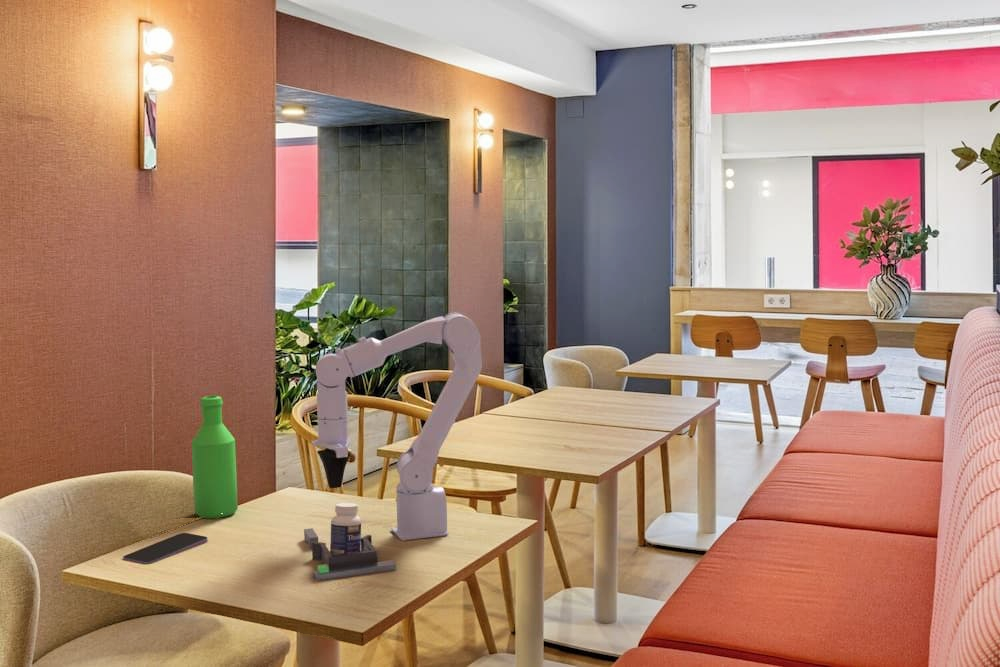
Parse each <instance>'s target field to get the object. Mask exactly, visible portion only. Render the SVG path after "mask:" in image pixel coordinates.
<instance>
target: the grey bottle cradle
mask: <svg viewBox="0 0 1000 667" xmlns="http://www.w3.org/2000/svg"><path fill="white" fill-rule="evenodd" d="M372 542H373V541H372V534H371V535H370V534H367V535H364V536H363V537H361V546H360V552H354V553H347V554H339V555H332V554H331V553H330V549H329V548H328V547H327V543H326V542H322V541H321V542H320V541H318V542H313V543H312V548H311V554H312V555H311V558H312V560H319V561H320V562H321V564H318V565H317V570H313V571H312V573H313V574H312V575H313V579H314V580H315V582H319V581H326V580H334V579H341V578H348V577H354V576H361V575H367V574H376V573H382V572H383V573H384V572H390V571H396V570H397V563H396V562H395V561H394V560H392V559H390V560H384V561H378V549H376V547H374V545H373V543H372Z"/></svg>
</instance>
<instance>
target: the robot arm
mask: <svg viewBox="0 0 1000 667" xmlns="http://www.w3.org/2000/svg"><path fill="white" fill-rule="evenodd" d="M481 340H482V338H481V334H480V333H479V330H478V328H477V326H476V324H475V322H474V320H472V319H470V318H469V317H468V316H465V315H464V314H462V313H461V312H450V313H447V314H446V315H445V316H443V315H442V316H437V317H434V318H430V319H427V320H424V321H422V322H420V323H418V324H416V325H414V326H411V327H409V328H406V329H404V330H402V331H400V332H397V333H394V334H393V335H391V336H389V337H386V338H384V339H381V340H380V339H377V338H374V337H369V338H366V337H365V336H362V337H359V338H358V341H359V342H357V343H354V344H351V345H349V346H345V347H344V348H342V349H341V347H338V348H335V349H334V350H335V353H327V354H324V355H322V356H321V357H320V358H319V359H318V360H317V362H316V366H315V376H316V378H317V384H316V390H317V393H316V409H317V411H316V413H317V417H316V418H317V439H316V440H312V441H311V445H312V446H314V447H322V448H324V449H320V450H317V452H316V453H317V454H318V456H319V458H320V460H321V462H322V465H323V469H324V473H325V477H326V481H327V485H328V487H329V489H339V488H341V487H342V484H343V480H344V474H345V469H346V466H347V463H348V461H349V459H350V457H351V451H350V450H349V445H350V443H351V442H350V441H351V440H350V437H349V415H348V414H349V413H348V410H349V409H348V408H349V407H348V406H349V405H348V392H347V391H346V380H347V378H349V377H351V378H355V377H357V376H360V375H361V374H364V373H366V372H369V371H372V370H374V369H377V368H379V367H382V366H383V365H384V363H385V360H386V358H387V357H388V356H391V355H393V354H397V353H399V352H401V351H405V350H406V349H410V348H412V347H416V346H418V345H420V344H423V343H431V344H436V345H437V344H438V345H443V342H444V344H446V345H447V347H448V348H449V349H450V353H451V356H452V359H453V361H454V368H453V370H452V372H451V373H450V376H449V377H448V378H447V379H448V380H447V381H446V383H445V385H444V386H443V388H442V390H441V392H440V394H439V396H438V398H437V400H436V402H435V404H434V406H433V407H432V409H431V412H430V413H429V414H428V417H427V419H426V420H425V423H424V425H423V426H422V429H421V430H420V432H419V434H418V436H417V437H416V438H415V439H414V440H413V442H412V443H411V445H410V447H409V448H408V449H407V450H406V451H404V452H403V453H402V454H401V455H400V456H399V457H398V459H397V462H396V470H397V473H398V475H399V480H400V481H399V483H397V485H396V487H395V489H396V490H395V491H396V492H395V493H396V494H395V495H396V524H397V525H396V526H392V527H390V528H391V531H392V532H393V533H394V534H395V535H396V537H398V539H399V540H400V541H402V542H403V541H411V540H419V539H425V538H426V539H427V538H434V537H442V536H448V535H449V532H448V505H447V496H446V492H445V489H444V488H443V487H442V486H440V485H438V486H436V485H435V486H434V483H432V482H433V477H434V469H435V468H434V467H435V466H436V463H437V461H438V457H439V454H440V451H441V447H442V445H443V444H444V443H445V440H446V439H447V437H448V435H449V433H450V431H451V429H452V427H453V425H454V423H455V422H456V419H457V417H458V416H459V413H460V411H461V410H462V408H463V406H464V405H465V402H466V401H467V399H468V397H469V395H470V393H471V391H472V389H473V388H474V385H475V383H476V381H477V379H478V378H479V376H480V374H481V372H482V369H483V360H482V348H481V345H482V344H481V342H482V341H481Z"/></svg>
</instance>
